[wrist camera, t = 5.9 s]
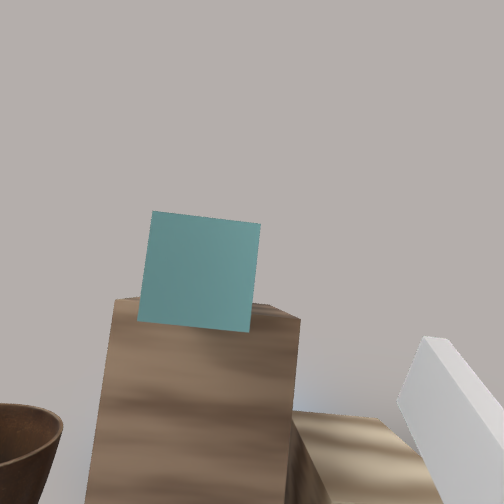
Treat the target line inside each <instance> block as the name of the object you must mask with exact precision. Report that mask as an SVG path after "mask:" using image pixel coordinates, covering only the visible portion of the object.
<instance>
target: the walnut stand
mask: <svg viewBox="0 0 504 504" xmlns="http://www.w3.org/2000/svg"><path fill="white" fill-rule="evenodd" d="M139 303H140V297H134V298H125V299H117V300H115V303H114V311H113V317H112V323H111V331H110V337H109V343H108V350H107V357H106V363H105V370H104V377H103V383H102V390H101V397H100V404H99V411H98V418H97V424H96V430H95V437H94V444H93V450H92V457H91V464H90V470H89V477H88V483H87V490H86V497H85V504H284V496H285V485H286V474H287V463H288V452H289V442H290V431H291V420H292V409H293V398H294V387H295V376H296V366H297V355H298V344H299V333H300V322H301V319H299V318H297V317H295V316H292V315H290V314H288V313H286V312H284V311H281V310H279V309H277V308H275V307H273V306H270V305H266V304H257V303H252V310H251V319H250V329H249V333H248V332H238V331H229V330H219V329H209V328H199V327H190V326H180V325H170V324H160V323H151V322H141V321H137V317H138V310H139Z"/></svg>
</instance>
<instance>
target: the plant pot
mask: <svg viewBox="0 0 504 504" xmlns="http://www.w3.org/2000/svg"><path fill="white" fill-rule="evenodd" d="M62 430H63V422H62V420H61V418H60V417H59V416H57V415H56V414H55V413H53V412H51V411H49V410H46V409H43V408H39V407H35V406H29V405H22V404H5V403H0V504H38V502H39V499H40V497H41V494H42V492H43V489H44V486H45V483H46V481H47V478H48V475H49V472H50V469H51V466H52V463H53V460H54V457H55V454H56V450H57V447H58V444H59V440H60V437H61V434H62Z"/></svg>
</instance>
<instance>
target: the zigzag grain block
mask: <svg viewBox="0 0 504 504" xmlns="http://www.w3.org/2000/svg"><path fill="white" fill-rule="evenodd" d="M284 504H444V503H443V501H442V499H441V497H440V495H439V493H438V490H437V488H436V486H435V484H434V482H433V480H432V478H431V475H430V473H429V471H428V469H427V467H426V465H425V463H424V460H423V458H422V457H420V456H419V455H418V454H417V453H416V452H415V451H414V450H413V449H411V448H410V447H409V446H408V445H407V444H406V443H404V442H403V441H402V440H401V439H400V438H399V437H398V436H397V435H396V434H395V433H393V432H392V431H391V430H390V429H389V428H388V427H387V426H385V425H384V424H383V423H382V422H381V421H380V420H379V419H378V418H369V417H358V416H346V415H335V414H325V413H313V412H302V411H292V420H291V431H290V442H289V452H288V463H287V474H286V485H285V496H284Z"/></svg>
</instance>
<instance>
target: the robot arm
mask: <svg viewBox="0 0 504 504" xmlns="http://www.w3.org/2000/svg"><path fill="white" fill-rule="evenodd" d="M396 402H397V405H398V407H399V409H400V411H401V413H402V415H403V418H404V420H405V422H406V424H407V426H408V428H409V430H410V432H411V435H412V437H413V439H414V441H415V443H416V445H417V448H418V450H419V452H420V454H421V456H422V458H423V460H424V463H425V465H426V467H427V469H428V471H429V473H430V475H431V478H432V480H433V482H434V484H435V486H436V488H437V490H438V493H439V495H440V497H441V499H442V501H443V503H444V504H504V409H503V408H502V406H501V405H500V404H499V403H498V401H497V400H496V399H495V398H494V396H493V395H492V394H491V393H490V391H489V390H488V389H487V388H486V387H485V385H484V384H483V383H482V381H481V380H480V379H479V378H478V376H477V375H476V374H475V373H474V372H473V370H472V369H471V368H470V366H469V365H468V364H467V363H466V361H465V360H464V359H463V358H462V356H461V355H460V354H459V353H458V351H457V350H456V349H455V348H454V346H453V345H452V344H451V343H450V341H449V340H448V339H446V338H436V337H428V336H423V338H422V340H421V343H420V345H419V347H418V350H417V352H416V355H415V357H414V360H413V362H412V365H411V367H410V369H409V372H408V374H407V376H406V379H405V381H404V384H403V386H402V389H401V391H400V394H399V396H398V399H397V401H396Z"/></svg>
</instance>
